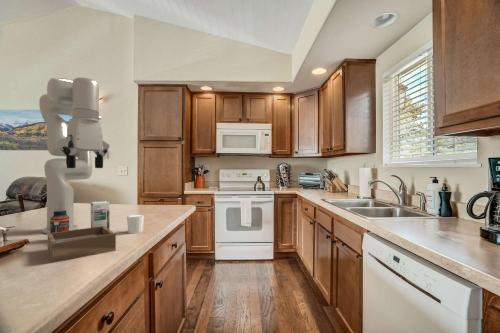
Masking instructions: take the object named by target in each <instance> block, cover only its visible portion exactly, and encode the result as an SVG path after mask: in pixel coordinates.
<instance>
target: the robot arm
mask: <svg viewBox="0 0 500 333" xmlns="http://www.w3.org/2000/svg"><path fill="white" fill-rule="evenodd" d="M38 102H39V104H38V105H39V111H40V115H41V117H42V119H43V121H44V123H45V127H46V144H47V151H48V153H49V154H50V155H51V156H53V157H57V158H50V159H48V160H46V162H44V166H43V167H44V175H45V180H46V227H44V228H43V229H41V230H42V231H41V232H42V233H43V234H47V235H48V233H50V219H51V217H52V216H53V215H54V211H55V210H66V214H67V215H68V216H69V231H70V230H77V229H78V228H79V227H78V225H76V224H74V219H75V218H74V215H75V214H74V209H75V208H74V199H75V198H74V195H75V194H74V193H75V192H74V191H75V190H74V188H73V187H72V186H71V185H70V183H69V182H67V181H71V180H72V181H74V180H75V181H76V180H78V181H81V180H87V179H90V178H91V176H92V172H93V164H92V155H91V154H92V153H91V152H93V154H95V156H94V168H95V169H103V168H104V157H106V155H107V153H108V151H109V148H110V144H109V143H107V141H104V138H103V131H102V124H101V122H100V121H101V119H102V116H101V115H100V85H99V83H98V81H96V80H94V79H92V78H88V77H87V78H86V77H75V78H74V79H69V78H66V77H65V78H64V77H63V78H62V77H59V78H55V77H51V78H50V79H49V80H48V82H47V86H46V93H45V94H42V95H41V96H40V98H39V100H38ZM61 115H63V116H71V118H69V120H68V122H67V121H66V120H65V119H64V118H63V117H62V116H61ZM61 157H65V158H61Z"/></svg>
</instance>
